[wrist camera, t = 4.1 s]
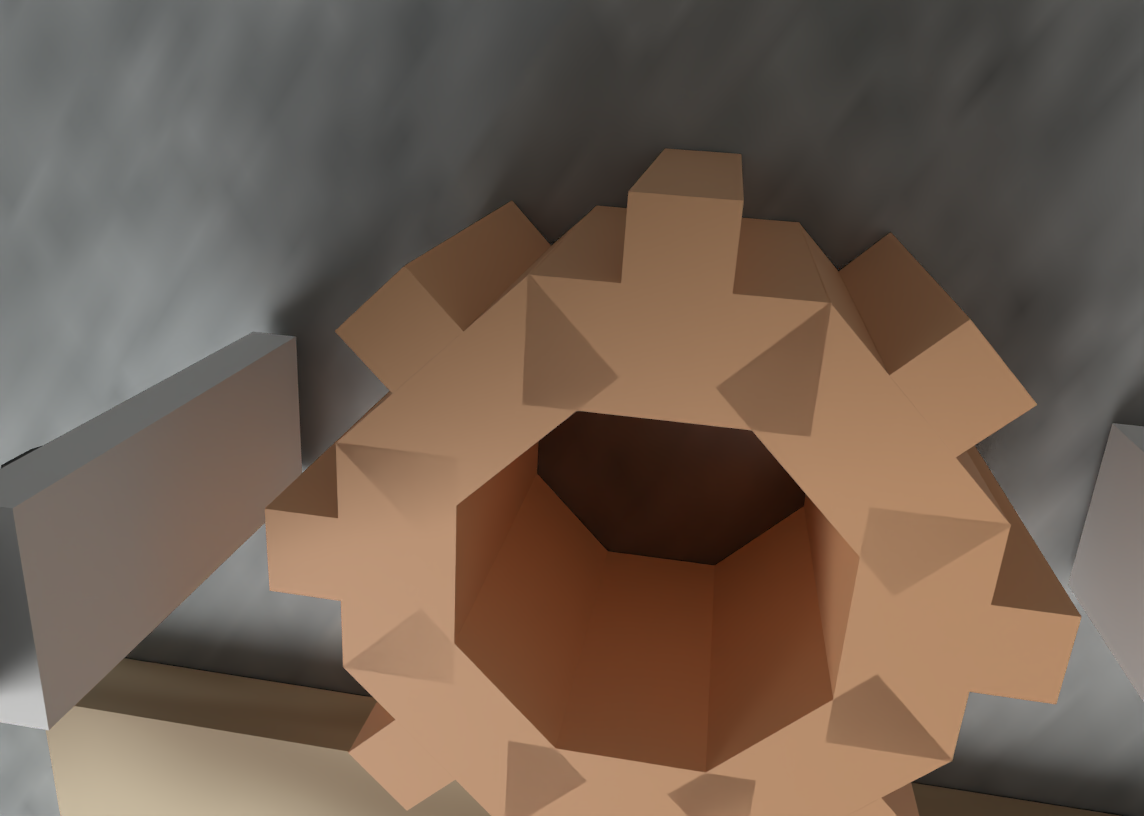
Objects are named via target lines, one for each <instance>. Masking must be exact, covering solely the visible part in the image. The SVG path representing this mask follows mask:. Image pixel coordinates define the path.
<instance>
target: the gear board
mask: <svg viewBox="0 0 1144 816" xmlns="http://www.w3.org/2000/svg"><path fill="white" fill-rule="evenodd" d="M376 702H377V701H376V700H375V699H374V698H373V697H367V696H360V695H354V694H348V693H341V692H335V691H329V690H322V689H316V688H310V687H303V686H297V685H291V684H284V683H278V682H272V681H265V680H259V679H253V678H246V677H240V676H234V675H227V674H221V673H215V672H208V671H202V670H196V669H189V668H183V667H177V666H170V665H164V664H158V663H151V662H145V661H139V660H132V659H126V658H124V659H123V660H122V661H120V662H119V663H118V664H117V665H116V666H115V667H114V668H113V669H112V670H111V671H110V672H109V673H108V674H107V675H106V676H105V677H104V678H103V679H102V680H101V681H100V682H99V683H98V684H97V685H96V686H94V687H93V688H92V689H91V690H90V691H89V692H88V693H87V694H86V695H85V696H84V697H83V698H82V699H81V700H80V701H79V702H78V703H77V704H76V705H75V706H74V707H73V708H72V709H71V710H70V711H68V712H67V713H66V714H65V715H64V716H63V717H62V718H61V719H60V720H59V721H58V722H57V723H56V724H55V725H54V726H53V727H52V728H51V729H50V730H46V734H47V740H48V745H49V751H50V757H51V763H52V769H53V775H54V781H55V787H56V793H57V798H58V804H59V810H60V816H491V815H490V814H489V813H488V812H487V811H486V810H485V809H484V808H483V807H482V806H481V805H480V804H479V803H478V802H477V801H476V800H475V799H474V798H473V797H472V796H471V795H470V794H469V793H468V792H467V791H466V790H465V789H464V788H463V787H462V786H461V785H460V784H459V783H458V782H457V781H456V780H454V781H453V782H451V783H449V784H448V785H446V786H445V787H443V788H442V789H440V790H439V791H437V792H435V793H434V794H432V795H431V796H429V797H428V798H426V799H425V800H423V801H422V802H420V803H418V804H417V805H415V806H414V807H412V808H411V809H409V810H408V811H407V810H405V809H404V808H403V807H402V806H401V805H400V804H399V803H398V802H397V801H396V800H395V799H394V798H393V797H392V796H391V795H390V794H389V793H388V792H387V791H386V790H385V789H384V788H383V787H382V786H381V785H380V784H379V783H378V782H377V781H376V780H375V779H374V778H373V777H372V776H371V775H370V774H369V773H368V772H367V771H366V770H365V769H364V768H363V767H362V766H361V765H360V764H359V763H358V762H357V761H356V760H355V759H354V758H353V757H352V756H351V755H350V754H349V753H348V752H349V750H350V749H351V747H352V745H353V743H354V741H355V740H356V738H357V736H358V734H359V733H360V731H361V729H362V727H363V725H364V724H365V722H366V720H367V718H368V717H369V715H370V713H371V711H372V710H373V708H374V706H375V704H376ZM911 784H912V788H913V792H914V796H915V800H916V804H917V808H918V813H919V816H1120V815H1113V814H1107V813H1101V812H1094V811H1088V810H1082V809H1075V808H1069V807H1063V806H1056V805H1050V804H1044V803H1037V802H1031V801H1025V800H1018V799H1012V798H1006V797H999V796H993V795H987V794H980V793H974V792H968V791H961V790H955V789H949V788H942V787H936V786H930V785H923V784H917V783H911Z"/></svg>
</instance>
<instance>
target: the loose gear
mask: <svg viewBox="0 0 1144 816" xmlns="http://www.w3.org/2000/svg"><path fill="white" fill-rule="evenodd" d="M743 203H744V196H743V176H742V156H741V154H734V153H721V152H708V151H694V150H681V149H667V148H665V149H664V150H663V151H662V153H661V154H660V155H659V156H658V157H657V158H656V160H655V161H654V162H653V163H652V164H651V165H650V167H649V168H648V169H647V170H646V171H645V172H644V174H643V175H642V176H641V177H640V178H639V179H638V181H637V182H636V183H635V184H634V185H633V187H632V188H631V189H630V190H629V191H628V202H627V208H620V207H608V206H598V205H597V206H595V207H594V208H593V209H592V210H591V211H590V212H589V213H588V214H587V215H586V216H585V217H583V218H582V219H581V220H580V221H579V222H578V223H577V224H575V225H574V226H573V227H572V228H571V229H570V230H569V231H567V232H566V233H565V234H564V235H563V236H562V237H561V238H559V239H558V240H557V241H556V242H555V243H554V244H553V245H552V246H551V245H550V244H549V243H548V242H547V240H546V239H545V238H544V237H543V236H542V235H541V233H540V232H539V231H538V230H537V229H536V228H535V227H534V225H533V224H532V223H531V222H530V221H529V220H528V218H527V217H526V216H525V215H524V214H523V213H522V211H521V210H520V209H519V208H518V207H517V206H516V204H515V203H514V202H513V201H510V202H509V203H507V204H505V205H504V206H502V207H500V208H499V209H497V210H495V211H494V212H492V213H490V214H489V215H487V216H486V217H484V218H482V219H481V220H479V221H477V222H476V223H474V224H472V225H471V226H469V227H467V228H466V229H464V230H462V231H461V232H459V233H457V234H456V235H454V236H453V237H451V238H449V239H448V240H446V241H444V242H443V243H441V244H439V245H438V246H436V247H434V248H433V249H431V250H429V251H428V252H426V253H425V254H423V255H421V256H420V257H418V258H416V259H415V260H413V261H411V262H410V263H408V264H406V265H405V266H404V267H402V268H401V269H400V270H399V271H398V272H397V273H396V274H395V275H394V276H393V277H392V278H391V279H390V280H389V281H388V282H386V283H385V284H384V285H383V286H382V287H381V288H380V289H379V290H378V291H377V292H376V293H375V294H374V295H373V296H372V297H370V298H369V299H368V300H367V301H366V302H365V303H364V304H363V305H362V306H361V307H360V308H359V309H358V310H357V311H356V312H354V313H353V314H352V315H351V316H350V317H349V318H348V319H347V320H346V321H345V322H344V323H343V324H342V325H341V326H340V327H338V328H337V329H336V330H335V332H336V333H337V334H338V335H339V336H340V337H341V339H342V340H343V341H344V342H345V343H346V344H347V345H348V346H349V347H350V348H351V349H352V350H353V352H354V353H355V354H356V355H357V356H358V357H359V358H360V359H361V360H362V361H363V362H364V363H365V365H366V366H367V367H368V368H369V369H370V370H371V371H372V372H373V373H374V374H375V375H376V376H377V377H378V379H379V380H380V381H381V382H382V383H383V384H384V385H385V386H386V387H387V388H388V389H389V390H390V391H389V392H388V393H387V394H386V395H385V396H384V397H383V398H382V399H381V400H380V401H378V402H377V403H376V404H375V405H374V406H373V407H372V408H371V409H370V410H369V411H368V412H367V413H366V414H365V415H364V416H363V417H361V418H360V419H359V420H358V421H357V422H356V423H355V424H354V425H353V426H352V427H351V428H350V429H349V430H348V431H347V432H346V433H344V434H343V435H342V436H341V437H340V438H339V439H338V440H337V441H336V442H335V443H334V444H333V445H332V446H331V447H330V448H329V449H327V450H326V451H325V452H324V453H323V454H322V455H321V456H320V457H319V458H318V459H317V460H316V461H315V462H314V463H313V464H312V465H310V466H309V467H308V468H307V469H306V470H305V471H304V472H303V473H302V474H301V475H300V476H299V477H298V478H297V479H296V480H295V481H293V482H292V483H291V484H290V485H289V486H288V487H287V488H286V489H285V490H284V491H283V492H282V493H281V494H280V495H279V496H278V497H276V498H275V499H274V500H273V501H272V502H271V503H270V504H269V505H268V506H267V507H266V508H265V524H266V539H267V555H268V571H269V587H270V591H276V592H283V593H290V594H297V595H304V596H311V597H317V598H324V599H331V600H338V601H341V619H342V650H343V668H345V669H346V670H347V671H348V672H349V673H350V674H351V675H352V676H353V677H354V678H355V679H356V680H357V681H358V682H359V683H360V684H361V685H362V686H363V687H364V688H365V689H366V690H367V691H368V692H369V693H370V695H371V696H372V697H373V698H374V699H375V700H376V701H377V702H376V704H375V706H374V708H373V710H372V711H371V713H370V715H369V717H368V718H367V720H366V722H365V724H364V725H363V727H362V729H361V731H360V733H359V734H358V736H357V738H356V740H355V741H354V743H353V745H352V747H351V749H350V750H349V752H348V753H349V754H350V755H351V756H352V757H353V758H354V759H355V760H356V761H357V762H358V763H359V764H360V765H361V766H362V767H363V768H364V769H365V770H366V771H367V772H368V773H369V774H370V775H371V776H372V777H373V778H374V779H375V780H376V781H377V782H378V783H379V784H380V785H381V786H382V787H383V788H384V789H385V790H386V791H387V792H388V793H389V794H390V795H391V796H392V797H393V798H394V799H395V800H396V801H397V802H398V803H399V804H400V805H401V806H402V807H403V808H404V809H405V810H407V811H408V810H409V809H411V808H412V807H414V806H415V805H417V804H418V803H420V802H422V801H423V800H425V799H426V798H428V797H429V796H431V795H432V794H434V793H435V792H437V791H439V790H440V789H442V788H443V787H445V786H446V785H448V784H449V783H451V782H453V781H454V780H456V781H457V782H458V783H459V784H460V785H461V786H462V787H463V788H464V789H465V790H466V791H467V792H468V793H469V794H470V795H471V796H472V797H473V798H474V799H475V800H476V801H477V802H478V803H479V804H480V805H481V806H482V807H483V808H484V809H485V810H486V811H487V812H488V813H489V814H490V815H491V816H919V813H918V808H917V804H916V800H915V796H914V792H913V788H912V784H911V782H912V781H914V780H916V779H918V778H920V777H922V776H924V775H926V774H928V773H930V772H932V771H934V770H936V769H937V768H939V767H941V766H943V765H945V764H947V763H949V762H952V761H953V760H952V759H953V755H954V751H955V747H956V743H957V739H958V735H959V731H960V727H961V723H962V719H963V715H964V711H965V707H966V703H967V699H968V695H969V692H975V693H982V694H988V695H995V696H1002V697H1009V698H1016V699H1023V700H1030V701H1037V702H1044V703H1051V704H1056V703H1057V700H1058V696H1059V693H1060V689H1061V686H1062V682H1063V679H1064V675H1065V672H1066V669H1067V665H1068V662H1069V658H1070V655H1071V651H1072V648H1073V644H1074V641H1075V637H1076V634H1077V631H1078V627H1079V624H1080V620H1081V615H1080V614H1079V612H1078V611H1077V609H1076V607H1075V606H1074V604H1073V603H1072V601H1071V599H1070V598H1069V596H1068V595H1067V593H1066V591H1065V590H1064V588H1063V587H1062V585H1061V583H1060V582H1059V580H1058V579H1057V577H1056V575H1055V574H1054V572H1053V571H1052V569H1051V567H1050V566H1049V564H1048V562H1047V561H1046V559H1045V558H1044V556H1043V554H1042V553H1041V551H1040V550H1039V548H1038V546H1037V545H1036V543H1035V542H1034V540H1033V538H1032V537H1031V535H1030V534H1029V532H1028V530H1027V529H1026V527H1025V526H1024V524H1023V522H1022V521H1021V519H1020V518H1019V516H1018V514H1017V513H1016V511H1015V510H1014V508H1013V506H1012V505H1011V503H1010V502H1009V500H1008V498H1007V497H1006V495H1005V493H1004V492H1003V490H1002V489H1001V487H1000V485H999V484H998V482H997V481H996V479H995V477H994V476H993V474H992V473H991V471H990V469H989V468H988V466H987V465H986V463H985V461H984V460H983V458H982V457H981V455H980V453H979V452H978V450H977V449H976V447H975V445H976V444H977V443H979V442H981V441H982V440H984V439H985V438H987V437H988V436H990V435H991V434H993V433H994V432H996V431H998V430H999V429H1001V428H1002V427H1004V426H1005V425H1007V424H1008V423H1010V422H1012V421H1013V420H1015V419H1016V418H1018V417H1019V416H1021V415H1022V414H1024V413H1026V412H1027V411H1029V410H1030V409H1032V408H1033V407H1035V406H1036V405H1037V404H1036V402H1035V401H1034V400H1033V399H1032V397H1031V396H1030V395H1029V393H1028V392H1027V391H1026V390H1025V388H1024V387H1023V386H1022V384H1021V383H1020V382H1019V381H1018V379H1017V378H1016V377H1015V376H1014V374H1013V373H1012V372H1011V370H1010V369H1009V368H1008V367H1007V365H1006V364H1005V363H1004V361H1003V360H1002V359H1001V358H1000V356H999V355H998V354H997V353H996V351H995V350H994V349H993V347H992V346H991V345H990V344H989V342H988V341H987V340H986V338H985V337H984V336H983V335H982V333H981V332H980V331H979V330H978V328H977V327H976V326H975V324H974V323H973V322H972V321H971V319H970V318H969V317H968V316H967V315H966V314H965V313H964V312H963V311H962V309H961V308H960V307H959V306H958V305H957V304H956V303H955V302H954V301H953V300H952V299H951V297H950V296H949V295H948V294H947V293H946V292H945V291H944V290H943V289H942V288H941V287H940V285H939V284H938V283H937V282H936V281H935V280H934V279H933V278H932V277H931V276H930V274H929V273H928V272H927V271H926V270H925V269H924V268H923V267H922V266H921V265H920V264H919V262H918V261H917V260H916V259H915V258H914V257H913V256H912V255H911V254H910V253H909V252H908V250H907V249H906V248H905V247H904V246H903V245H902V244H901V243H900V242H899V241H898V240H897V238H896V237H895V236H894V235H893V234H892V233H891V232H890V233H889V234H887V235H886V236H885V237H883V238H882V239H881V240H880V241H878V242H877V243H876V244H874V245H873V246H872V247H870V248H869V249H868V250H866V251H865V252H864V253H862V254H861V255H860V256H858V257H857V258H856V259H854V260H853V261H852V262H850V263H849V264H848V265H847V266H845V267H844V268H843V269H841V270H840V271H839V272H838V270H837V269H836V268H835V267H834V265H833V264H832V263H831V262H830V260H829V259H828V258H827V257H826V255H825V254H824V253H823V252H822V250H821V249H820V248H819V247H818V245H817V244H816V243H815V242H814V240H813V239H812V238H811V237H810V235H809V234H808V233H807V232H806V230H805V229H804V228H803V227H802V226H801V224H800V222H788V221H776V220H764V219H752V218H742V211H743ZM576 411H585V412H593V413H602V414H611V415H620V416H629V417H638V418H647V419H656V420H664V421H673V422H682V423H691V424H700V425H709V426H718V427H727V428H736V429H744V430H752V431H753V432H754V433H755V435H756V436H757V437H758V438H759V439H760V441H761V442H762V443H763V444H764V445H765V446H766V448H767V449H768V450H769V451H770V452H771V453H772V455H773V456H774V457H775V458H776V459H777V460H778V462H779V463H780V464H781V465H782V466H783V468H784V469H785V470H786V471H787V472H788V473H789V475H790V476H791V477H792V478H793V479H794V480H795V482H796V483H797V484H798V485H799V486H800V488H801V489H802V490H803V491H804V492H805V493H806V496H805V502H804V506H803V507H802V508H800V509H799V510H797V511H796V512H794V513H793V514H791V515H790V516H788V517H787V518H785V519H784V520H782V521H781V522H779V523H778V524H776V525H775V526H773V527H772V528H770V529H769V530H767V531H766V532H764V533H763V534H761V535H760V536H758V537H757V538H755V539H754V540H752V541H751V542H749V543H748V544H746V545H745V546H743V547H742V548H740V549H739V550H737V551H736V552H734V553H733V554H731V555H730V556H728V557H727V558H725V559H724V560H722V561H721V562H719V563H718V564H716V565H708V564H700V563H693V562H685V561H678V560H670V559H662V558H655V557H647V556H640V555H632V554H625V553H617V552H609V551H607V550H606V549H605V548H604V547H603V546H602V544H601V543H600V542H599V541H598V540H597V539H596V538H595V537H594V536H593V535H592V533H591V532H590V531H589V530H588V529H587V528H586V527H585V526H584V525H583V524H582V522H581V521H580V520H579V519H578V518H577V517H576V516H575V515H574V514H573V513H572V511H571V510H570V509H569V508H568V507H567V506H566V505H565V504H564V503H563V501H562V500H561V499H560V498H559V497H558V496H557V495H556V494H555V493H554V492H553V490H552V489H551V488H550V487H549V486H548V485H547V484H546V483H545V482H544V481H543V479H542V478H541V477H540V476H539V475H538V474H537V465H538V445H539V440H540V439H542V438H543V437H544V436H545V435H547V434H548V433H549V432H551V431H552V430H553V429H554V428H556V427H557V426H558V425H559V424H561V423H562V422H563V421H565V420H566V419H567V418H568V417H570V416H571V415H572V414H573V413H575V412H576Z"/></svg>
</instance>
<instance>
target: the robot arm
mask: <svg viewBox="0 0 1144 816" xmlns="http://www.w3.org/2000/svg"><path fill="white" fill-rule="evenodd" d="M301 474H302V460H301V438H300V415H299V393H298V370H297V348H296V336H287V335H278V334H268V333H259V332H252V333H250V334H248V335H246V336H244V337H242V338H241V339H239V340H237V341H235V342H233V343H231V344H230V345H228V346H226V347H224V348H222V349H220V350H219V351H217V352H215V353H213V354H211V355H209V356H207V357H206V358H204V359H202V360H200V361H198V362H196V363H195V364H193V365H191V366H189V367H187V368H185V369H183V370H182V371H180V372H178V373H176V374H174V375H172V376H171V377H169V378H167V379H165V380H163V381H161V382H160V383H158V384H156V385H154V386H152V387H150V388H148V389H147V390H145V391H143V392H141V393H139V394H137V395H136V396H134V397H132V398H130V399H128V400H126V401H125V402H123V403H121V404H119V405H117V406H115V407H113V408H112V409H110V410H108V411H106V412H104V413H102V414H101V415H99V416H97V417H95V418H93V419H91V420H89V421H88V422H86V423H84V424H82V425H80V426H78V427H77V428H75V429H73V430H71V431H69V432H67V433H66V434H64V435H62V436H60V437H58V438H56V439H54V440H53V441H51V442H49V443H47V444H45V445H43V446H40V447H37V448H34V449H31V450H29V451H27V452H25V453H23V454H21V455H19V456H18V457H16V458H14V459H12V460H10V461H8V462H6V463H5V464H3V465H1V469H0V722H2V723H8V724H14V725H20V726H26V727H32V728H38V729H43V730H50V729H51V728H52V727H53V726H54V725H55V724H56V723H57V722H58V721H59V720H60V719H61V718H62V717H63V716H64V715H65V714H66V713H67V712H68V711H70V710H71V709H72V708H73V707H74V706H75V705H76V704H77V703H78V702H79V701H80V700H81V699H82V698H83V697H84V696H85V695H86V694H87V693H88V692H89V691H90V690H91V689H92V688H93V687H94V686H96V685H97V684H98V683H99V682H100V681H101V680H102V679H103V678H104V677H105V676H106V675H107V674H108V673H109V672H110V671H111V670H112V669H113V668H114V667H115V666H116V665H117V664H118V663H119V662H120V661H122V660H123V659H124V658H125V657H126V656H127V655H128V654H129V653H130V652H131V651H132V650H133V649H134V648H135V647H136V646H137V645H138V644H139V643H140V642H141V641H142V640H143V639H144V638H145V637H146V636H148V635H149V634H150V633H151V632H152V631H153V630H154V629H155V628H156V627H157V626H158V625H159V624H160V623H161V622H162V621H163V620H164V619H165V618H166V617H167V616H168V615H169V614H170V613H171V612H172V611H174V610H175V609H176V608H177V607H178V606H179V605H180V604H181V603H182V602H183V601H184V600H185V599H186V598H187V597H188V596H189V595H190V594H191V593H192V592H193V591H194V590H195V589H196V588H197V587H198V586H200V585H201V584H202V583H203V582H204V581H205V580H206V579H207V578H208V577H209V576H210V575H211V574H212V573H213V572H214V571H215V570H216V569H217V568H218V567H219V566H220V565H221V564H222V563H223V562H224V561H226V560H227V559H228V558H229V557H230V556H231V555H232V554H233V553H234V552H235V551H236V550H237V549H238V548H239V547H240V546H241V545H242V544H243V543H244V542H245V541H246V540H247V539H248V538H249V537H250V536H252V535H253V534H254V533H255V532H256V531H257V530H258V529H259V528H260V527H261V526H262V525H263V524H264V523H265V508H266V507H267V506H268V505H269V504H270V503H271V502H272V501H273V500H274V499H275V498H276V497H278V496H279V495H280V494H281V493H282V492H283V491H284V490H285V489H286V488H287V487H288V486H289V485H290V484H291V483H292V482H293V481H295V480H296V479H297V478H298V477H299V476H300V475H301ZM1068 585H1069V587H1070V588H1071V590H1072V592H1073V593H1074V595H1075V596H1076V598H1077V599H1078V601H1079V602H1080V604H1081V606H1082V607H1083V609H1084V610H1085V612H1086V613H1087V615H1088V616H1089V618H1090V620H1091V621H1092V623H1093V624H1094V626H1095V627H1096V629H1097V630H1098V632H1099V634H1100V635H1101V637H1102V638H1103V640H1104V641H1105V643H1106V644H1107V646H1108V648H1109V649H1110V651H1111V652H1112V654H1113V655H1114V657H1115V658H1116V660H1117V662H1118V663H1119V665H1120V666H1121V668H1122V669H1123V671H1124V672H1125V674H1126V675H1127V677H1128V679H1129V680H1130V682H1131V683H1132V685H1133V686H1134V688H1135V689H1136V691H1137V693H1138V694H1139V696H1140V697H1141V699H1142V700H1143V702H1144V426H1135V425H1126V424H1116V423H1112V427H1111V430H1110V434H1109V438H1108V441H1107V445H1106V449H1105V452H1104V456H1103V459H1102V463H1101V467H1100V470H1099V474H1098V477H1097V481H1096V485H1095V488H1094V492H1093V496H1092V499H1091V503H1090V506H1089V510H1088V514H1087V517H1086V521H1085V525H1084V528H1083V532H1082V535H1081V539H1080V543H1079V546H1078V550H1077V554H1076V557H1075V561H1074V564H1073V568H1072V572H1071V575H1070V579H1069V582H1068Z"/></svg>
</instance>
